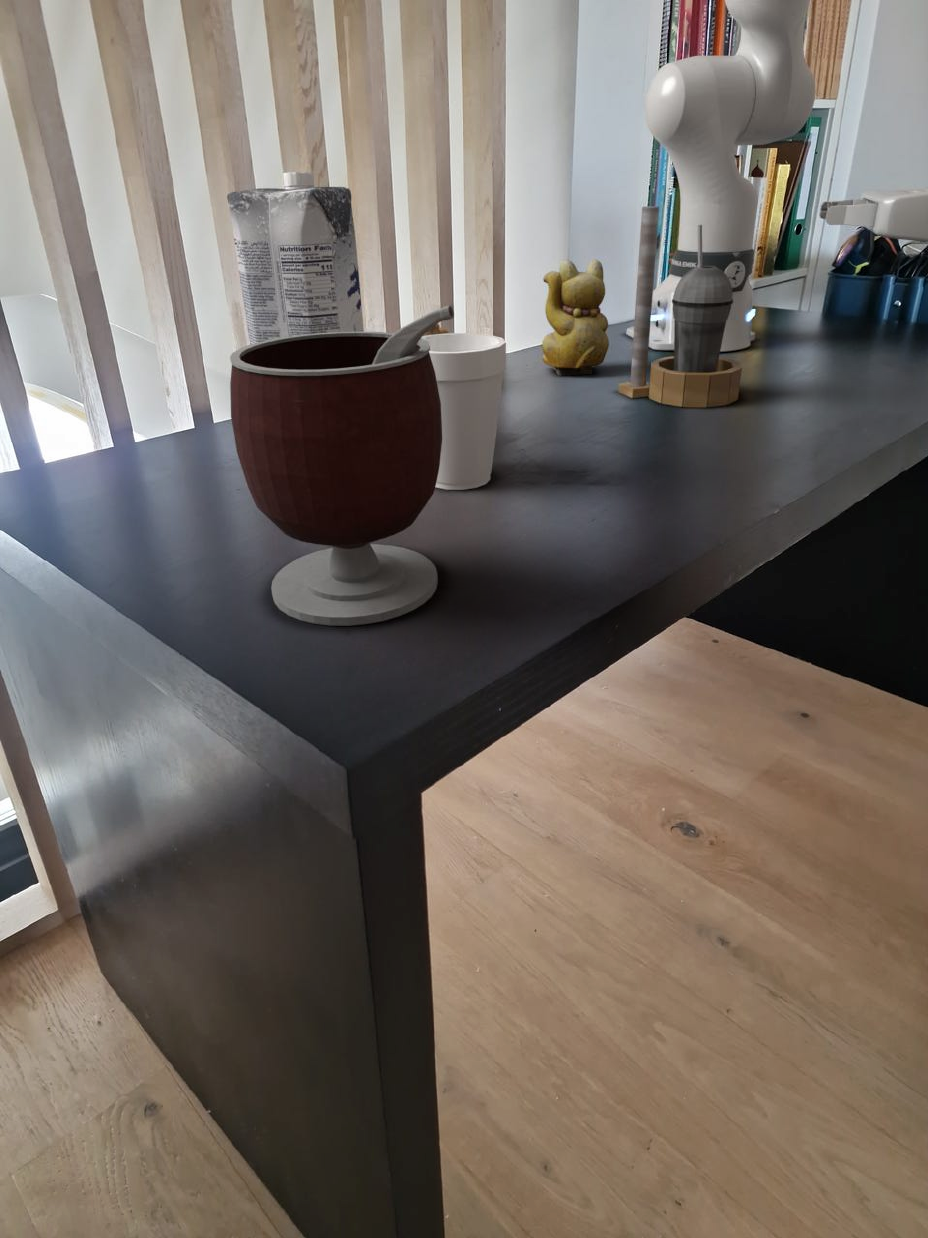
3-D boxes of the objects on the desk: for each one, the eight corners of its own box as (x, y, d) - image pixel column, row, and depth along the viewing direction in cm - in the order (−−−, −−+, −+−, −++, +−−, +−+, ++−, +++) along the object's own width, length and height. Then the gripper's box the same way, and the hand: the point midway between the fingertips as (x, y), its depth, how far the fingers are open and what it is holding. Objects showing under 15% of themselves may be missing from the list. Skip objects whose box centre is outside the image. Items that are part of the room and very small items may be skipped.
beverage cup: (723, 404, 103) (745, 226, 93) (663, 402, 104) (679, 227, 94) (719, 389, 109) (740, 221, 99) (663, 388, 110) (677, 222, 101)
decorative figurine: (594, 363, 125) (599, 255, 118) (619, 374, 118) (627, 260, 111) (535, 369, 122) (536, 259, 115) (557, 381, 116) (560, 265, 108)
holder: (618, 392, 109) (629, 206, 99) (702, 381, 113) (721, 201, 102) (665, 413, 100) (683, 210, 89) (755, 401, 104) (782, 204, 93)
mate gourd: (222, 614, 58) (164, 316, 49) (320, 538, 70) (289, 285, 60) (424, 649, 53) (404, 325, 44) (494, 562, 65) (490, 289, 55)
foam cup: (460, 457, 88) (456, 329, 81) (525, 476, 82) (526, 340, 75) (391, 480, 82) (381, 344, 75) (456, 503, 76) (451, 357, 70)
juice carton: (344, 470, 85) (313, 171, 72) (257, 461, 88) (211, 175, 75) (381, 445, 92) (359, 169, 79) (299, 437, 96) (264, 172, 82)
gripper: (948, 174, 97) (821, 178, 100) (991, 179, 79) (836, 183, 83) (935, 234, 100) (812, 235, 103) (974, 250, 82) (825, 251, 86)
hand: (823, 212), depth 93 cm, fingers open, 8 cm apart
